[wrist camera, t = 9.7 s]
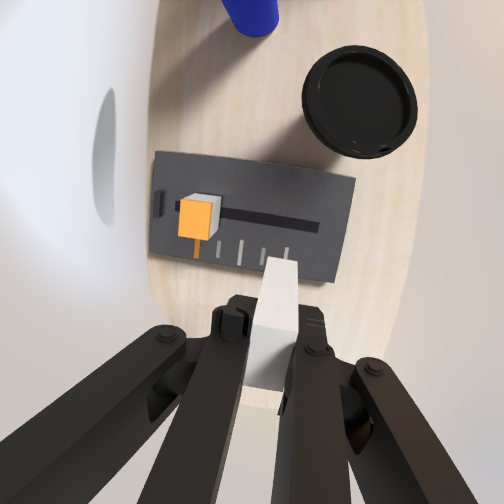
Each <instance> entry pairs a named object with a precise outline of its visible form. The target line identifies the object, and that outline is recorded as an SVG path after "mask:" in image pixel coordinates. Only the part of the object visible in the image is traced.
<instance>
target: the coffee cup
mask: <svg viewBox="0 0 504 504" xmlns="http://www.w3.org/2000/svg"><path fill="white" fill-rule="evenodd" d="M302 108H303V112H304V116H305V119H306V121H307V123H308V125H309V127H310V129H311V130H312V132H313V133H314V134H315V136H316V137H317V138H318V139H319V140H320V141H321V142H322V143H323V144H324V145H325V146H327V147H328V148H330V149H331V150H333V151H334V152H337V153H339V154H341V155H344V156H347V157H352V158H356V159H374V158H380V157H383V156H385V155H388V154H390V153H391V152H393V151H394V150H396V149H397V148H398V147H400V146H401V145H402V144H403V143H404V142H405V141H406V140H407V139H408V138H409V137H410V135H411V134H412V132H413V130H414V128H415V125H416V121H417V113H418V107H417V100H416V95H415V92H414V89H413V86H412V84H411V82H410V80H409V78H408V77H407V75H406V74H405V72H404V71H403V70H402V68H401V67H400V66H399V65H398V64H397V63H396V62H395V61H394V60H393V59H391V58H390V57H389V56H387V55H386V54H384V53H382V52H380V51H378V50H376V49H373V48H370V47H366V46H358V45H352V46H344V47H341V48H338V49H335V50H334V51H331V52H329V53H327V54H326V55H324V56H323V57H321V58H320V59H319V60H318V61H317V62H316V63H315V64H314V65H313V66H312V68H311V69H310V71H309V73H308V75H307V77H306V79H305V82H304V84H303V89H302Z"/></svg>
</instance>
